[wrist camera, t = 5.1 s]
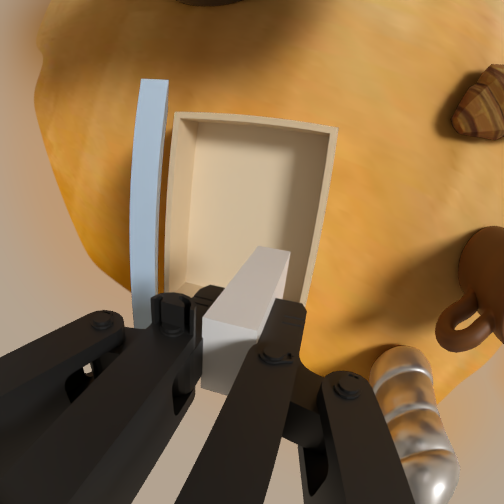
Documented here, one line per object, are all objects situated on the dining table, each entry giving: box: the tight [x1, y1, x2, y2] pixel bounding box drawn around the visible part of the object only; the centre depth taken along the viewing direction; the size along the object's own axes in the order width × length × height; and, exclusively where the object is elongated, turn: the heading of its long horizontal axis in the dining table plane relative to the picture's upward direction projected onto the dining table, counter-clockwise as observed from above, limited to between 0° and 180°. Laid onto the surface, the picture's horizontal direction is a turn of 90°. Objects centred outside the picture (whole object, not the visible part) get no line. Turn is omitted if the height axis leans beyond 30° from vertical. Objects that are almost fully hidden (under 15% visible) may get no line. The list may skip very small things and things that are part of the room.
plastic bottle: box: [369, 346, 460, 504], centre depth 17 cm, size 6×7×20 cm
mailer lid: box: [130, 79, 169, 329], centre depth 17 cm, size 16×12×1 cm
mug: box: [435, 226, 504, 353], centre depth 18 cm, size 12×8×9 cm, turn 118°
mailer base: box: [164, 112, 338, 307], centre depth 24 cm, size 16×12×4 cm
